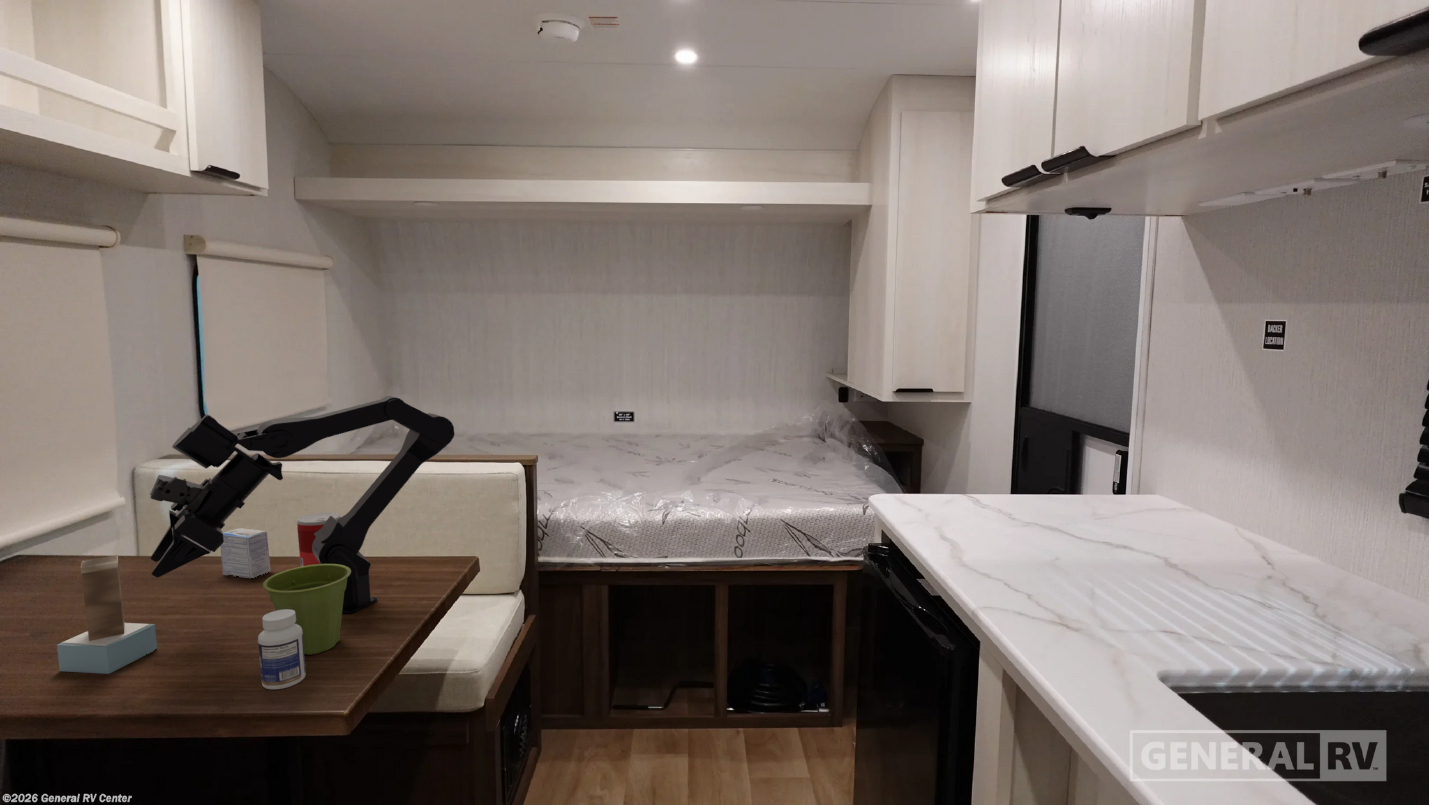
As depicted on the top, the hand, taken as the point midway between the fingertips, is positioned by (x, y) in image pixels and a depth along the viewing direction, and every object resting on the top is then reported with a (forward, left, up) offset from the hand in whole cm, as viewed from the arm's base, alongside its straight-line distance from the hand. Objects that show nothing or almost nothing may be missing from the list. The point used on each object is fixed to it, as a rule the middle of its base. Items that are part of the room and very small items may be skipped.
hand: (153, 567), depth 113 cm
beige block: (+4, +5, -9) cm, 11 cm away
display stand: (+4, +5, -13) cm, 14 cm away
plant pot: (-22, -7, -13) cm, 27 cm away
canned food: (+5, -36, -13) cm, 39 cm away
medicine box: (+18, -30, -13) cm, 37 cm away
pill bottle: (-27, +3, -13) cm, 31 cm away
